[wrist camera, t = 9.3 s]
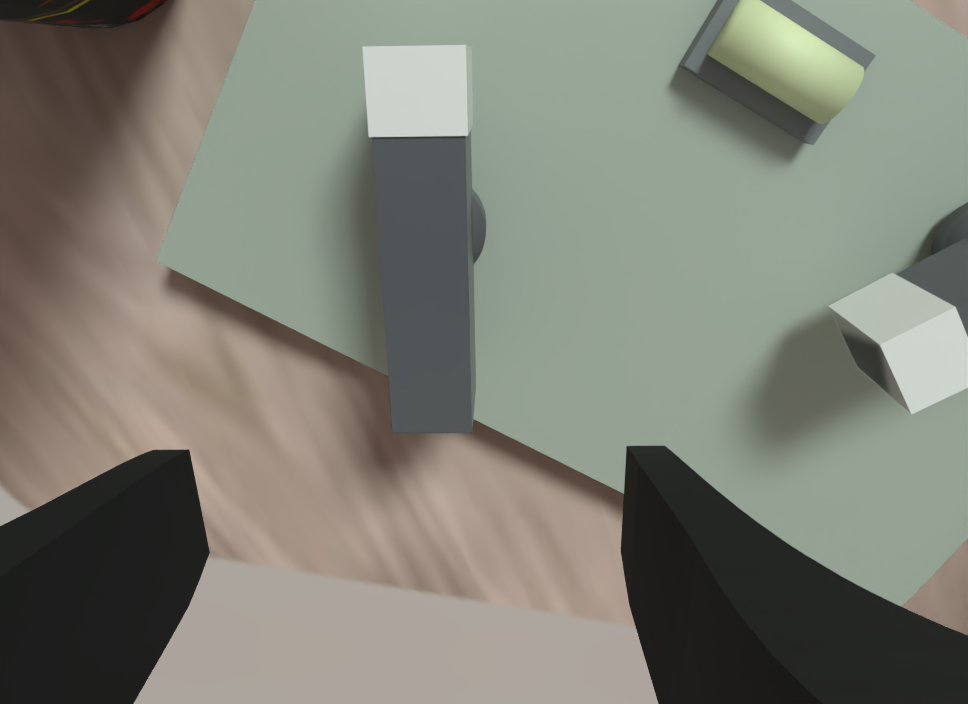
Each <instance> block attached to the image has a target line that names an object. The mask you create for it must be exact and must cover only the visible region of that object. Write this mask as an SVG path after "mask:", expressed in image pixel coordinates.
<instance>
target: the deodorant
mask: <svg viewBox="0 0 968 704" xmlns="http://www.w3.org/2000/svg"><path fill="white" fill-rule="evenodd" d="M166 1H167V0H0V20H1V21H13V22H25V23H37V24H49V25H61V26H73V27H98V28H112V27H115V26H119V25H123V24H126V23H130V22H134V21H137V20H140V19H142V18H143V17H145V16H146V15H148V14H149V13H151V12H152V11H154V10H155V9H157V8H158V7H160V6H161V5H163V4H164V3H165V2H166Z"/></svg>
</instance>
